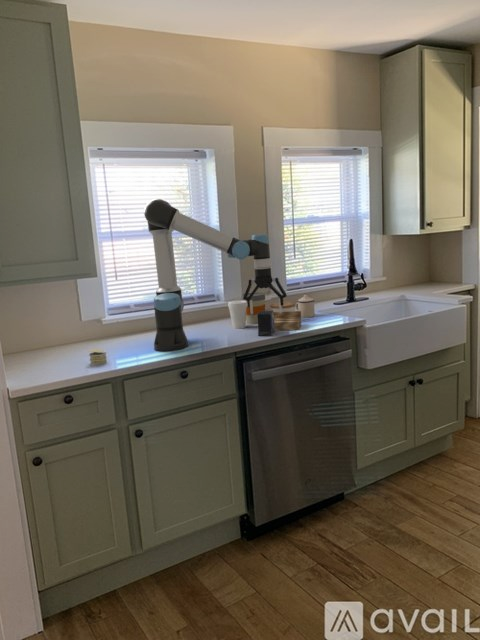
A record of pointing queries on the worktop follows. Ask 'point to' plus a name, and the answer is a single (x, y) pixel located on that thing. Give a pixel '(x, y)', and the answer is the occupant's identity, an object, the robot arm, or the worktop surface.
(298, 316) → the dock
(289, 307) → the lidded bowl
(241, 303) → the foam cup
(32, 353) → the worktop surface
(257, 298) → the reusable coffee cup
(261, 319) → the small box
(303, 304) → the teacup with lid
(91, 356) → the stacked layers on plate
